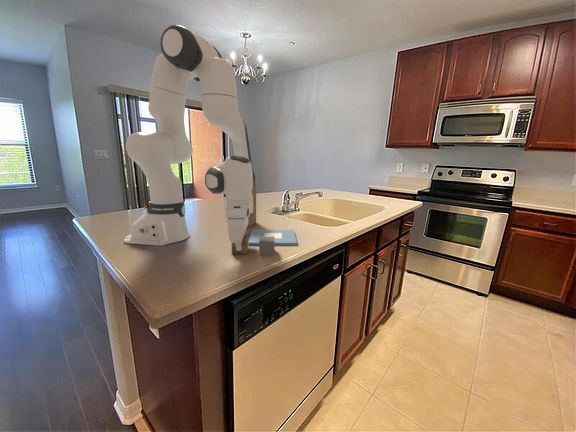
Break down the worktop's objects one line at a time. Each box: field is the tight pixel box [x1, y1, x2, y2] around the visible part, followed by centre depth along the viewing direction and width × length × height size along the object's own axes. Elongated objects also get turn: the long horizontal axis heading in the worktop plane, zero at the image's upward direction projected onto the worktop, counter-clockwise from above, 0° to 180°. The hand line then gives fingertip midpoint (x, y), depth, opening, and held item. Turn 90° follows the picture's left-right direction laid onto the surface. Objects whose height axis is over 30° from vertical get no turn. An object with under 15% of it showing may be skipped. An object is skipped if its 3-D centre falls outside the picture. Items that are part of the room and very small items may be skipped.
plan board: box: [248, 229, 298, 246], centre depth 101 cm, size 18×16×1 cm
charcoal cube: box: [258, 237, 275, 256], centre depth 86 cm, size 5×5×5 cm
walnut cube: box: [230, 234, 249, 255], centre depth 86 cm, size 5×5×5 cm
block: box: [247, 181, 257, 228], centre depth 118 cm, size 10×10×20 cm
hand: (240, 246), depth 87 cm, fingers closed on walnut cube, 5 cm apart
